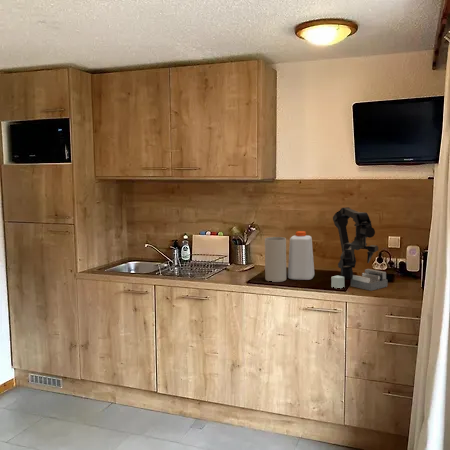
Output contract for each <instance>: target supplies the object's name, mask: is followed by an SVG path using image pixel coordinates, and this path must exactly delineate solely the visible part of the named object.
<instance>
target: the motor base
mask: <svg viewBox="0 0 450 450" xmlns="http://www.w3.org/2000/svg"><path fill="white" fill-rule="evenodd" d="M350 287H354V288H358V289H362V290H365V291H371V292H372V291H375V290H379V289H380V290H381V289H383V288H387V287H388V279H387V272H386V271H382V270H376V269H372V268H366V269H364V272H362V273H361V275H357V274H353V278H350Z"/></svg>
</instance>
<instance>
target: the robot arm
mask: <svg viewBox="0 0 450 450" xmlns="http://www.w3.org/2000/svg"><path fill="white" fill-rule="evenodd" d="M350 219H352V221H353V222H354V227H355V236H354V239H353V241H352V242H350V241H349V240H350V239H349V234H348V230H347V226H348V224H349V220H350ZM332 221H333V224H334V226H335V227H336V228H337V230H338V235H339V240H340V241H339V242H340V246H341V255H340V260H339V262H338V263H337V267H338V269H340V276H343V277H344V280H349V279H350V280H351V279H353V275H354V270H353V268H354V269H355V268H356V263H357V259H356V254H355V250H356V251H359V250H366V251H367V252H366V254H367V259H366V262H367V264H369V263H370V261H371V259H372V256H373V255H374V253H376V252H378V251H379V246H378V245H375V244H370V245H368V243H367V239H368V238H369V239H370V238H373V237H374V236H375V234H376V231H375V228H374V227H372V226H373V225H372V220H371V219H370V216H369V214H368V213H367V212H363V211H357V210H355V209H352V208H350V207H341V208H340V210H337V211H336V212H335V213H334V215H333V216H332Z"/></svg>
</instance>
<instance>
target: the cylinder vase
mask: <svg viewBox="0 0 450 450" xmlns="http://www.w3.org/2000/svg"><path fill="white" fill-rule="evenodd" d="M264 270H265V271H264V275H265V278H264V279H265V281H267V282H269V281H272V282H271V283H282V282H285V281H286V280H287V238H286V237H282V236H271V237H270V236H269V237H266V238H265V237H264Z"/></svg>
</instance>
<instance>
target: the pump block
mask: <svg viewBox="0 0 450 450" xmlns="http://www.w3.org/2000/svg"><path fill="white" fill-rule="evenodd" d="M330 280H331V283H330V284H331V285H330V286H331V288H333V287H334V289H337V288H340V289H343V287H344V288H345V279H344V277H343V276H341V275H334V276H331V278H330Z"/></svg>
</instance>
